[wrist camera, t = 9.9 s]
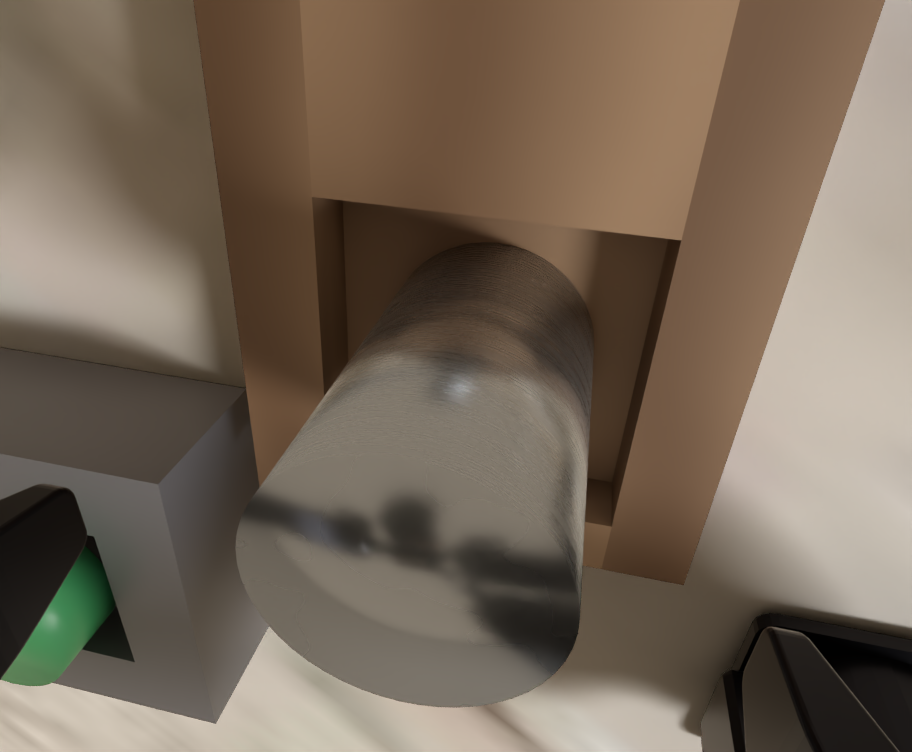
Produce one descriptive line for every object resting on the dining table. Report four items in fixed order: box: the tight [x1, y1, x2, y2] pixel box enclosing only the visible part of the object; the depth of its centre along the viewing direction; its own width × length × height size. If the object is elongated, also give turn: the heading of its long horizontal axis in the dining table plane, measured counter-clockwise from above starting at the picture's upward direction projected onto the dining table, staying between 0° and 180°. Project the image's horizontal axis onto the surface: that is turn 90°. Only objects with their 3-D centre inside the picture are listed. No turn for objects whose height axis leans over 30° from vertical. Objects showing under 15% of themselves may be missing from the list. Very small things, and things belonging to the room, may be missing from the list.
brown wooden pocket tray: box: [194, 0, 885, 585], centre depth 11 cm, size 10×20×2 cm, turn 177°
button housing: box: [0, 348, 269, 724], centre depth 19 cm, size 9×9×4 cm
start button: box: [1, 546, 116, 686], centre depth 17 cm, size 4×4×2 cm
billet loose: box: [235, 242, 594, 707], centre depth 11 cm, size 4×4×7 cm
